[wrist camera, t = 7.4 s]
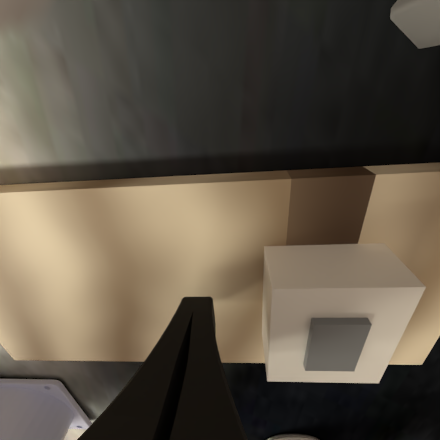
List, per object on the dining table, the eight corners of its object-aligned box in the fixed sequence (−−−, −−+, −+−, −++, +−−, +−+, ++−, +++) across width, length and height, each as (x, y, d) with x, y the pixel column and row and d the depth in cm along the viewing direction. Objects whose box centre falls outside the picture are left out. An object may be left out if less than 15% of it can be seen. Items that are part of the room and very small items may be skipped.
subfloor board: (25, 346, 17) (14, 360, 16) (-97, 189, 11) (-125, 199, 10) (410, 348, 15) (421, 364, 14) (514, 158, 9) (543, 166, 8)
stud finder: (261, 333, 13) (268, 388, 11) (264, 246, 10) (273, 295, 8) (354, 333, 13) (382, 390, 10) (384, 243, 10) (432, 294, 8)
